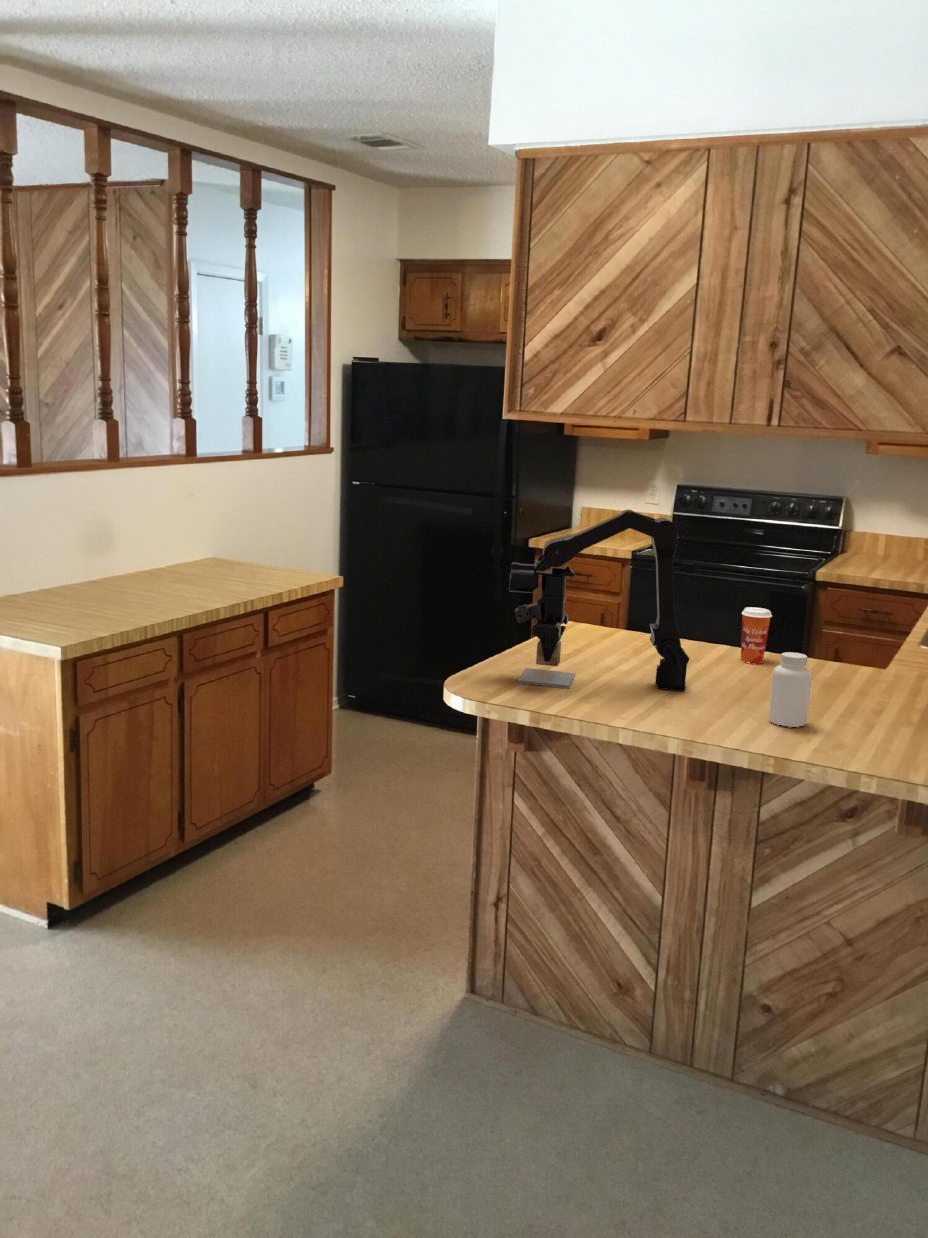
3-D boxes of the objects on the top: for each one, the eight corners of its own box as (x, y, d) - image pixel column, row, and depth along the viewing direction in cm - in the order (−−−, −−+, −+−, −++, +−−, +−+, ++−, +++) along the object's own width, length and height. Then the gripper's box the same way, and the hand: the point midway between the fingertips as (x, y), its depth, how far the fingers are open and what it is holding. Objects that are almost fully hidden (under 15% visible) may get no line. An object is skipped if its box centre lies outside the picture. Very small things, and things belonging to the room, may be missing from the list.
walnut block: (559, 661, 256) (561, 641, 255) (557, 666, 251) (558, 645, 250) (539, 659, 257) (540, 639, 256) (536, 664, 252) (537, 643, 251)
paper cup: (735, 663, 281) (741, 610, 278) (737, 656, 288) (742, 605, 285) (766, 666, 279) (772, 613, 276) (767, 660, 286) (773, 608, 283)
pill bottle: (776, 715, 235) (784, 648, 232) (812, 723, 231) (820, 655, 227) (761, 722, 229) (769, 654, 226) (797, 731, 224) (805, 661, 221)
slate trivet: (574, 676, 260) (575, 673, 259) (568, 688, 248) (569, 685, 248) (525, 671, 262) (526, 668, 262) (517, 683, 251) (517, 680, 250)
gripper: (525, 584, 261) (521, 647, 265) (511, 597, 243) (508, 664, 247) (570, 588, 259) (566, 651, 262) (560, 602, 241) (556, 669, 244)
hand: (548, 658), depth 254 cm, fingers closed on walnut block, 5 cm apart
